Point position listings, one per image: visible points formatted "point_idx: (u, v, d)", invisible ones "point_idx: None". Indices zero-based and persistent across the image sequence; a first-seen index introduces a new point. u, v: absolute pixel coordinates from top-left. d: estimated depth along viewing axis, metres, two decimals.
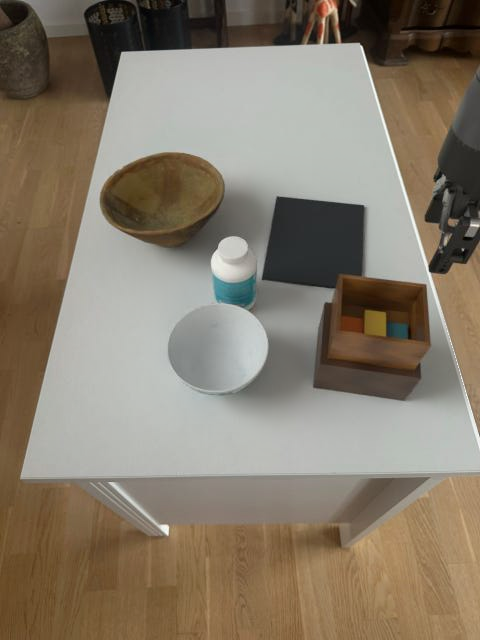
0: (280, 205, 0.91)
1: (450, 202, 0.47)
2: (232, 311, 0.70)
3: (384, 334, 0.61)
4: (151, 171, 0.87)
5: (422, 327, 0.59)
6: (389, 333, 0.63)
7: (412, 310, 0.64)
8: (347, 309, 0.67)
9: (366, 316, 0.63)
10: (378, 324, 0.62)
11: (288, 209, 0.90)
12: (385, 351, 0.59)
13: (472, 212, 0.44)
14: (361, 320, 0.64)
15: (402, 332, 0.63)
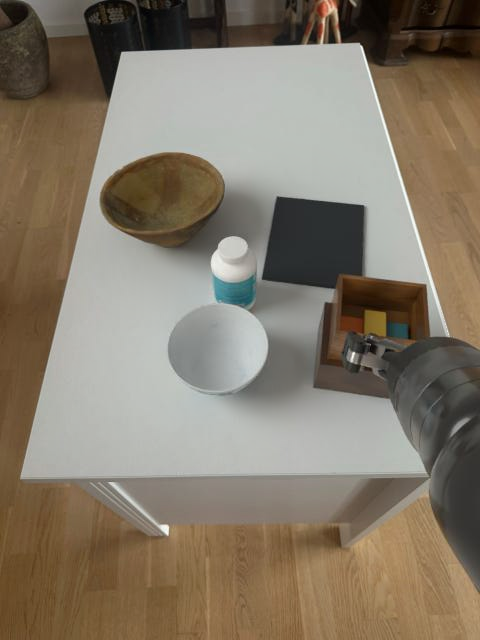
0: (280, 205, 0.91)
1: None
2: (232, 311, 0.70)
3: (384, 334, 0.61)
4: (151, 171, 0.87)
5: (422, 327, 0.59)
6: (389, 333, 0.63)
7: (412, 310, 0.64)
8: (347, 309, 0.67)
9: (366, 316, 0.63)
10: (378, 324, 0.62)
11: (288, 209, 0.90)
12: None
13: None
14: (361, 320, 0.64)
15: (402, 332, 0.63)
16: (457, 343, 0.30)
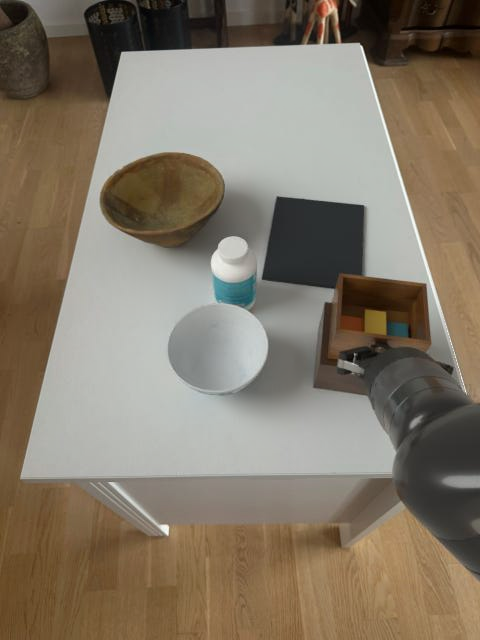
0: (280, 205, 0.91)
1: None
2: (232, 311, 0.70)
3: (384, 333, 0.61)
4: (151, 171, 0.87)
5: (422, 326, 0.58)
6: (389, 332, 0.63)
7: (412, 310, 0.64)
8: (347, 309, 0.67)
9: (366, 315, 0.63)
10: (378, 323, 0.62)
11: (288, 209, 0.90)
12: None
13: None
14: (361, 320, 0.64)
15: (402, 331, 0.63)
16: (410, 354, 0.41)
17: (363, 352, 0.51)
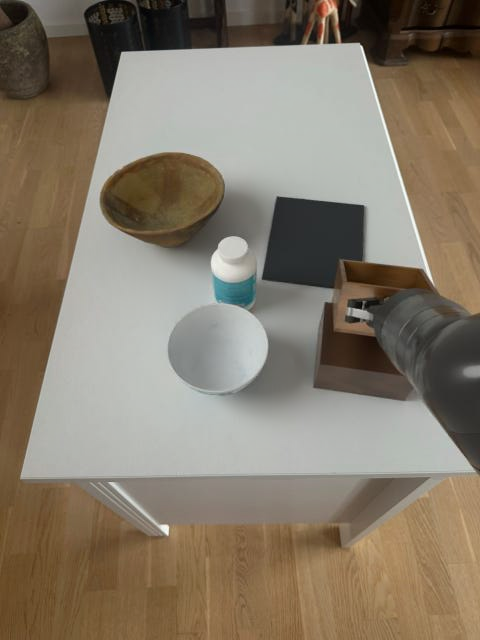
0: (280, 205, 0.91)
1: None
2: (232, 311, 0.70)
3: None
4: (151, 171, 0.87)
5: None
6: None
7: None
8: None
9: None
10: None
11: (288, 209, 0.90)
12: None
13: None
14: None
15: None
16: (422, 292, 0.40)
17: (372, 301, 0.50)
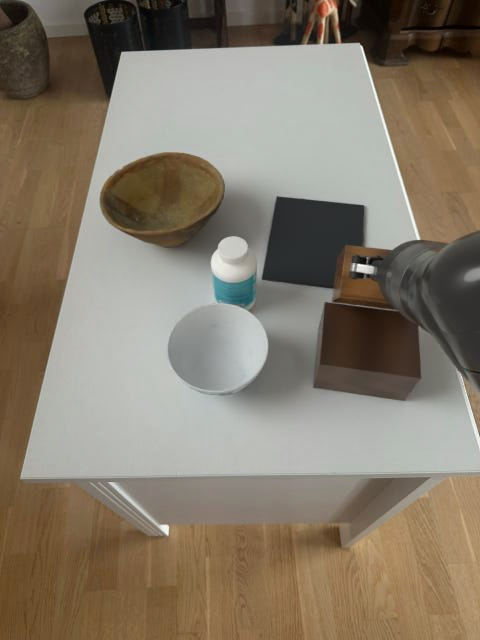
0: (280, 205, 0.91)
1: None
2: (232, 311, 0.70)
3: None
4: (151, 171, 0.87)
5: None
6: None
7: None
8: None
9: None
10: None
11: (288, 209, 0.90)
12: None
13: None
14: None
15: None
16: None
17: (375, 259, 0.51)
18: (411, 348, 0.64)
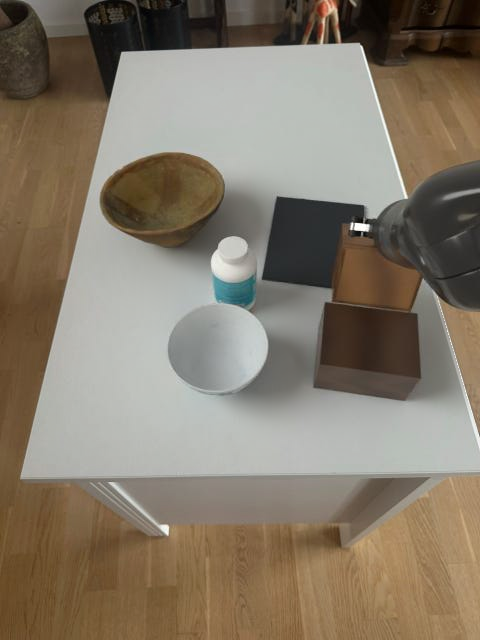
0: (280, 205, 0.91)
1: None
2: (232, 311, 0.70)
3: None
4: (151, 171, 0.87)
5: None
6: None
7: None
8: None
9: None
10: None
11: (288, 209, 0.90)
12: None
13: None
14: None
15: None
16: None
17: None
18: (411, 348, 0.64)
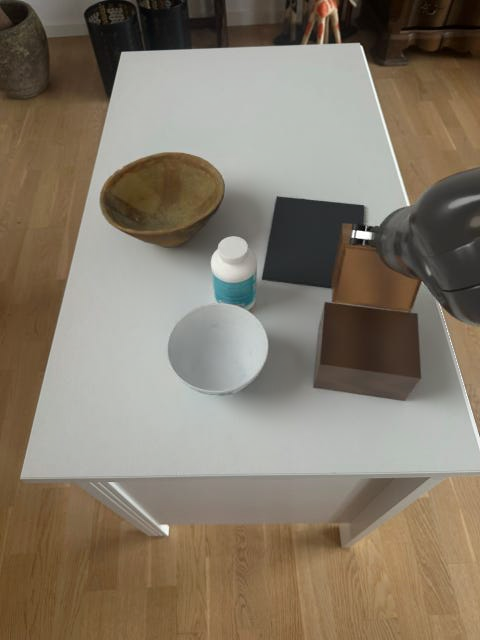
0: (280, 205, 0.91)
1: None
2: (232, 311, 0.70)
3: None
4: (151, 171, 0.87)
5: None
6: None
7: None
8: None
9: None
10: None
11: (288, 209, 0.90)
12: None
13: None
14: None
15: None
16: None
17: None
18: (411, 348, 0.64)
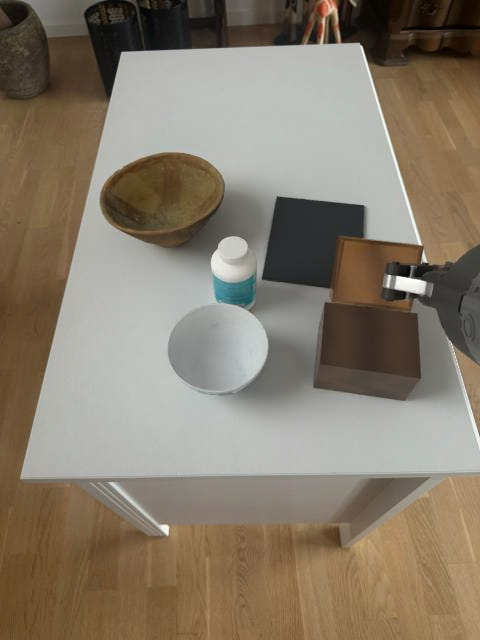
0: (280, 205, 0.91)
1: None
2: (232, 311, 0.70)
3: None
4: (151, 171, 0.87)
5: None
6: None
7: None
8: None
9: None
10: None
11: (288, 209, 0.90)
12: None
13: None
14: None
15: None
16: None
17: (423, 268, 0.32)
18: (411, 348, 0.64)
